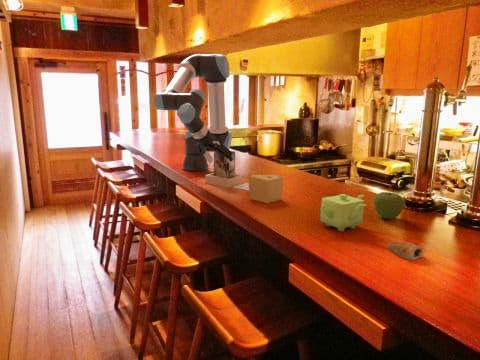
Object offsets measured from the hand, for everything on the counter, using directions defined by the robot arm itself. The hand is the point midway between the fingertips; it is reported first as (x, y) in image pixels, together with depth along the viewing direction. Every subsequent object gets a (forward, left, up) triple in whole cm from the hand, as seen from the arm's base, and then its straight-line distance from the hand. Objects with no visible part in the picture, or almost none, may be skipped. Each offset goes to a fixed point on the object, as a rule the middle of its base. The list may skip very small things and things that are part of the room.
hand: (222, 162), depth 185 cm
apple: (+1, +79, -11) cm, 80 cm away
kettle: (+21, +70, -11) cm, 74 cm away
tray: (-2, -1, -11) cm, 11 cm away
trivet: (-3, +14, -11) cm, 18 cm away
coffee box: (-2, -1, -11) cm, 11 cm away
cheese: (+9, +31, -11) cm, 35 cm away
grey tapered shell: (+32, +93, -11) cm, 99 cm away
